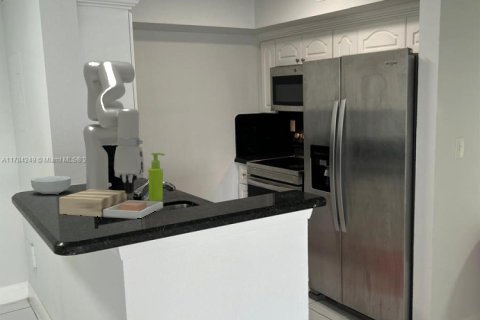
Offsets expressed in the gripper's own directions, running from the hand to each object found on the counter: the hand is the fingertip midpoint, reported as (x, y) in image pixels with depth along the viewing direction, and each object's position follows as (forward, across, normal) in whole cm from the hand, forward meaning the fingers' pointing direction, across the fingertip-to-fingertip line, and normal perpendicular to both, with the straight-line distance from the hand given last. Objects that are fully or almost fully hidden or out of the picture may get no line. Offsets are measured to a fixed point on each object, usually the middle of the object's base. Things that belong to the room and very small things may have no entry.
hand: (129, 193), depth 164 cm
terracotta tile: (+4, -2, +1) cm, 4 cm away
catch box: (+7, -2, 0) cm, 7 cm away
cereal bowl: (+7, +52, -29) cm, 60 cm away
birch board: (+7, +14, 0) cm, 16 cm away
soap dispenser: (+7, 0, -26) cm, 27 cm away
